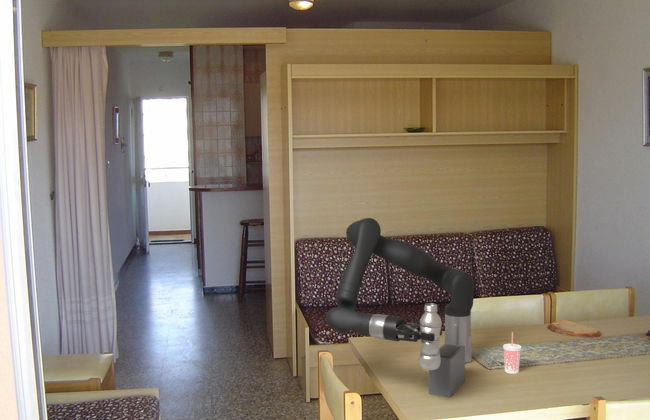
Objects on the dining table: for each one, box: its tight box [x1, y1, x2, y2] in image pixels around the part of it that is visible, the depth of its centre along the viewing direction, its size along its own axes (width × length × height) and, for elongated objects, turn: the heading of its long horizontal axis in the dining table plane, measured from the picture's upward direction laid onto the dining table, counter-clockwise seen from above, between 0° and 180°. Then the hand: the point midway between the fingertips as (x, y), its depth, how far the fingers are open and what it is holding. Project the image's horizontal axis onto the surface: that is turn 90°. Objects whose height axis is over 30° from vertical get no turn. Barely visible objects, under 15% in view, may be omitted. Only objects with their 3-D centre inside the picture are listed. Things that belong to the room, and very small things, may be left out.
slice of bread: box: [546, 319, 602, 339], centre depth 278 cm, size 18×18×4 cm
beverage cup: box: [502, 331, 522, 374], centre depth 231 cm, size 6×6×14 cm
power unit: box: [428, 342, 466, 398], centre depth 217 cm, size 7×16×12 cm, turn 152°
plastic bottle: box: [418, 302, 443, 371], centre depth 201 cm, size 6×7×20 cm
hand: (437, 334), depth 200 cm, fingers closed on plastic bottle, 6 cm apart
